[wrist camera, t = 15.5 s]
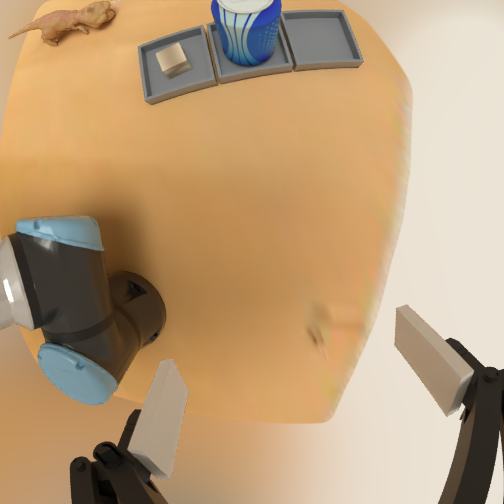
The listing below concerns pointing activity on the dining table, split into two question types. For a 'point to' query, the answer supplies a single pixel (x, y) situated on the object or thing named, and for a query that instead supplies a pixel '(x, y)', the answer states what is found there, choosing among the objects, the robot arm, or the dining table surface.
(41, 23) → the toy
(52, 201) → the dining table surface
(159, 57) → the beige cube
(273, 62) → the tray middle
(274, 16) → the beer can
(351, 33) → the tray
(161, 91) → the tray
